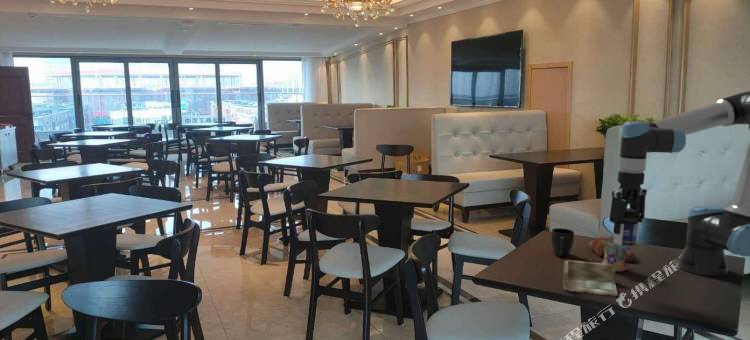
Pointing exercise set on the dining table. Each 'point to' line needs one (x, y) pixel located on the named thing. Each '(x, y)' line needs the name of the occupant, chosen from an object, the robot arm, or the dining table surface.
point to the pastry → (600, 251)
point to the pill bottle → (629, 227)
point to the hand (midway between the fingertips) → (624, 242)
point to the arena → (589, 277)
